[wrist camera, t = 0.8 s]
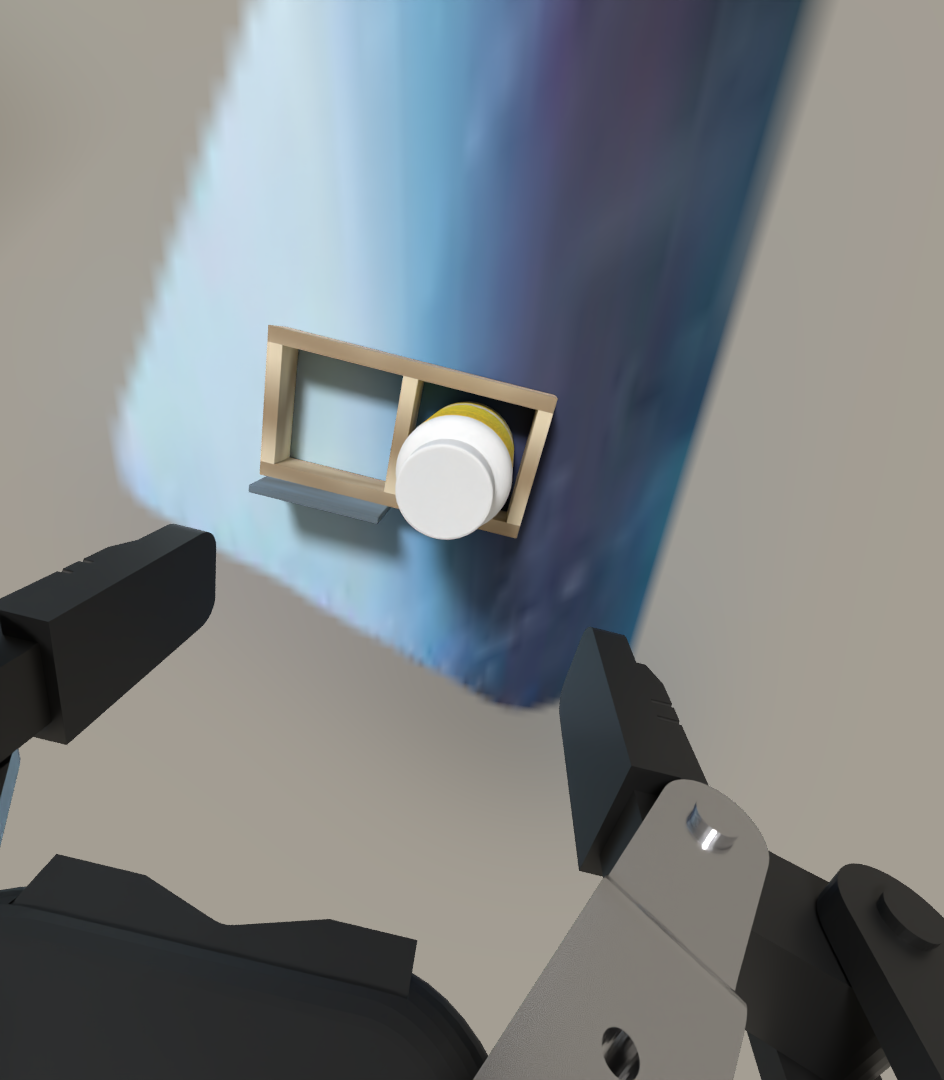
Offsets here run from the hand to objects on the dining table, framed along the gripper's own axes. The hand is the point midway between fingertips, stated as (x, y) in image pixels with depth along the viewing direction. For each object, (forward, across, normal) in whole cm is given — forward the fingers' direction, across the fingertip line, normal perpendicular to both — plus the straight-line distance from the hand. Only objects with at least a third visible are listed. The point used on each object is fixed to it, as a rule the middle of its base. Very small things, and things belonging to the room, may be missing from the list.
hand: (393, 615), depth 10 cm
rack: (+19, +4, 0) cm, 19 cm away
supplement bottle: (+19, 0, 0) cm, 19 cm away
